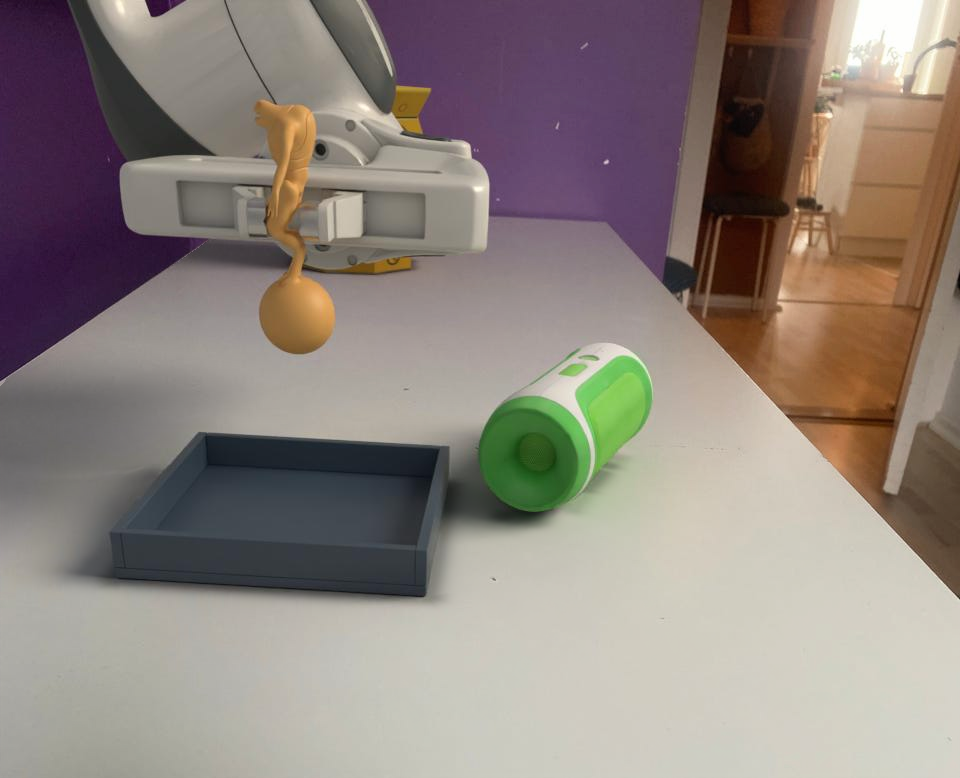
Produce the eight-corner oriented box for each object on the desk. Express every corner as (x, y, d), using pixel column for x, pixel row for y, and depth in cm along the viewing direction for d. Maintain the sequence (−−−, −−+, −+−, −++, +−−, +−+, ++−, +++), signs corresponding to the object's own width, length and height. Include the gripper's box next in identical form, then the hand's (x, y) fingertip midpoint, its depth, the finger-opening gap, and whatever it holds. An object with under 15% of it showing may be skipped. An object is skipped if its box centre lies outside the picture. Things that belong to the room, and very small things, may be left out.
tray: (115, 578, 54) (108, 532, 52) (202, 469, 68) (198, 431, 67) (426, 596, 53) (427, 550, 52) (448, 484, 68) (449, 445, 66)
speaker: (558, 430, 78) (567, 329, 75) (652, 446, 76) (666, 343, 72) (467, 509, 64) (472, 389, 60) (580, 531, 62) (592, 408, 58)
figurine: (285, 346, 60) (204, 121, 54) (385, 316, 59) (313, 86, 54) (263, 380, 52) (166, 125, 47) (376, 347, 52) (292, 84, 46)
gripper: (157, 124, 62) (66, 141, 50) (496, 142, 62) (487, 163, 50) (168, 235, 65) (85, 276, 53) (490, 253, 65) (481, 298, 53)
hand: (282, 222), depth 52 cm, fingers closed on figurine, 2 cm apart
